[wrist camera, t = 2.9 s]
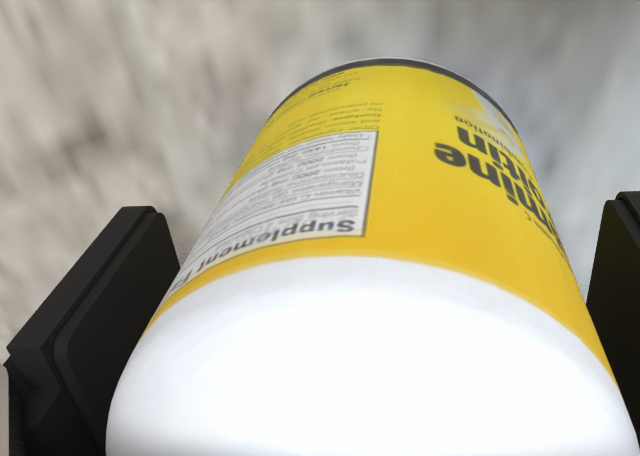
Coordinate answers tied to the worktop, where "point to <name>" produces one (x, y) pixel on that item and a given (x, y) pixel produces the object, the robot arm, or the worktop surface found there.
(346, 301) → the pill bottle
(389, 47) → the worktop surface
